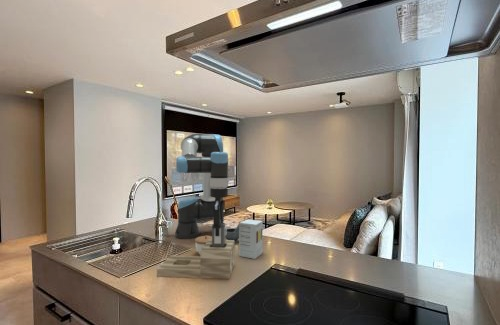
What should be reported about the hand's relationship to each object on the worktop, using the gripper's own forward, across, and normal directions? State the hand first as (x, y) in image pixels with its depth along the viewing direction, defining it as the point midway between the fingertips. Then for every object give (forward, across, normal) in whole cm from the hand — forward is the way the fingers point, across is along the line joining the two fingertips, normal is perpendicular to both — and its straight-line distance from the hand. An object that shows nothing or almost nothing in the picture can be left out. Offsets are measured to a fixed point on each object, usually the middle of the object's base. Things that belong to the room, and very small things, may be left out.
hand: (218, 241), depth 111 cm
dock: (+13, 0, +9) cm, 16 cm away
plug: (+5, 0, 0) cm, 5 cm away
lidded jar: (+13, +19, +10) cm, 25 cm away
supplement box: (+13, +20, -13) cm, 27 cm away
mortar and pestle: (+13, +39, -2) cm, 41 cm away
